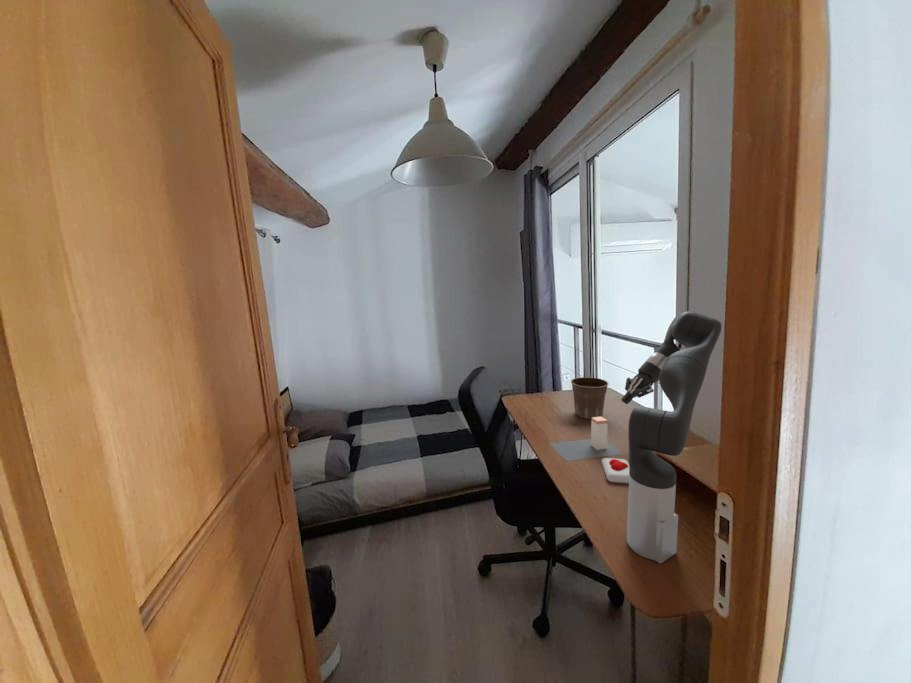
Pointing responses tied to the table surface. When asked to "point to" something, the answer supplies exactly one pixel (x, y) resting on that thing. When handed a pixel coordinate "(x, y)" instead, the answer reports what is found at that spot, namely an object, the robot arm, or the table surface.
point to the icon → (616, 470)
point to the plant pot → (589, 396)
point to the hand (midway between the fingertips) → (623, 402)
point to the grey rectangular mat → (583, 450)
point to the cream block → (599, 432)
